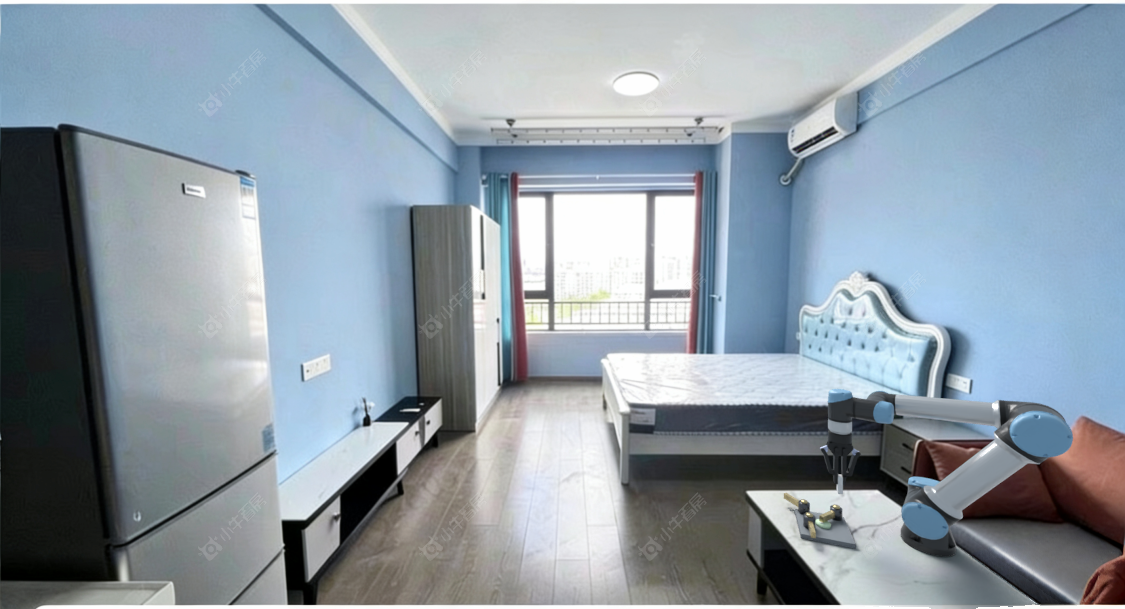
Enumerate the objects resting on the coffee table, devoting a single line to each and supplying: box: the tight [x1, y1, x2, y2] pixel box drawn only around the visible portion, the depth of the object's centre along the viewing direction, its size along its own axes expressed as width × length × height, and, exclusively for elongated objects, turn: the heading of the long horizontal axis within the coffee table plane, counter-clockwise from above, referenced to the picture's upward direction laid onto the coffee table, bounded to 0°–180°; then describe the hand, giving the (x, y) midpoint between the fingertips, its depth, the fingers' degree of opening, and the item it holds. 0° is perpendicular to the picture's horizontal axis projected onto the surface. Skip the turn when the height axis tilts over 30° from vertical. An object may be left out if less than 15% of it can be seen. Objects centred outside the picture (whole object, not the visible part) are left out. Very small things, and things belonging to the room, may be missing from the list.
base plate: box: [794, 508, 857, 549], centre depth 160 cm, size 17×18×3 cm
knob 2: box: [803, 512, 816, 538], centre depth 155 cm, size 12×4×5 cm, turn 157°
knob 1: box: [783, 492, 811, 514], centre depth 172 cm, size 12×4×5 cm, turn 17°
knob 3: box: [819, 503, 843, 523], centre depth 162 cm, size 12×4×5 cm, turn 116°
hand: (839, 492), depth 158 cm, fingers closed
